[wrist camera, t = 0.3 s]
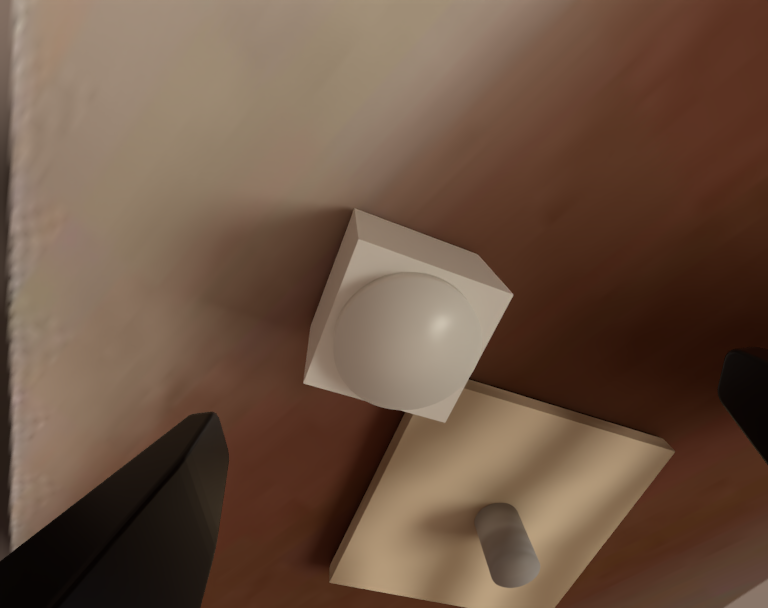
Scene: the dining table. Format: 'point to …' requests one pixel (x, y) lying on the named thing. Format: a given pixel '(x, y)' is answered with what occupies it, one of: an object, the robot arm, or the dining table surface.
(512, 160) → the dining table surface
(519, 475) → the stud plate
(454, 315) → the white domed square block
